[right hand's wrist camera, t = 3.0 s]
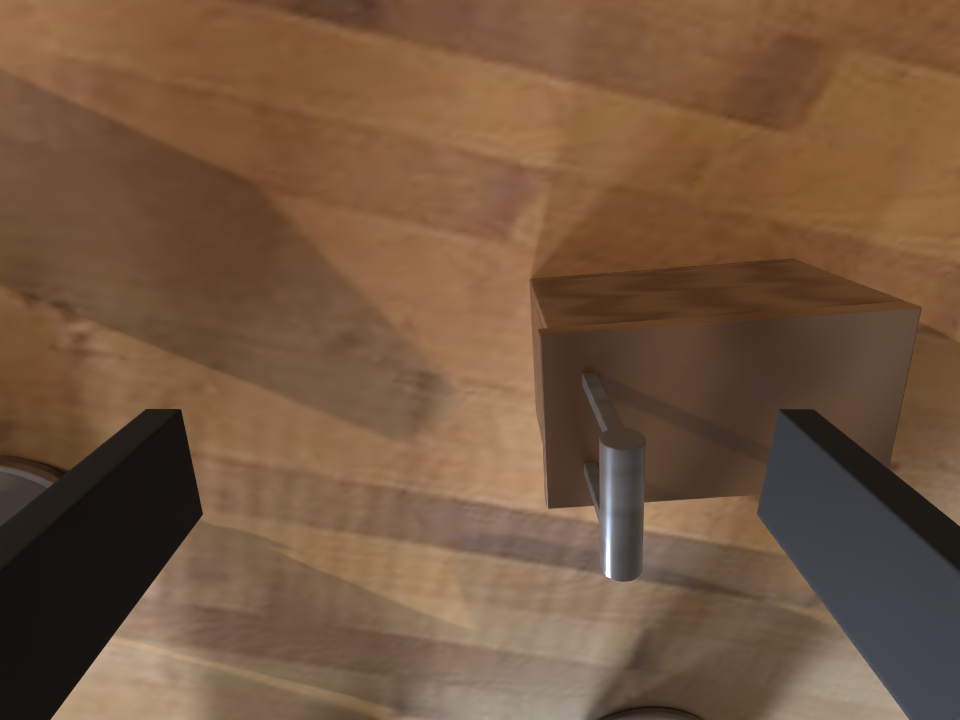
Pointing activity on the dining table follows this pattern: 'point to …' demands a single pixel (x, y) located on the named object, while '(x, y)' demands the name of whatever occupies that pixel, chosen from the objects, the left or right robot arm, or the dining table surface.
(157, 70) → the dining table surface
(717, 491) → the lid
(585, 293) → the chest
